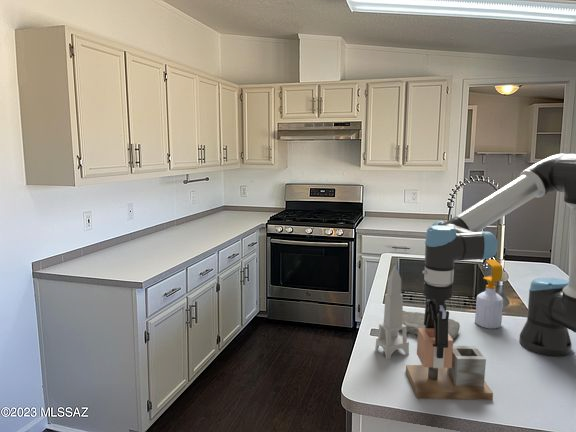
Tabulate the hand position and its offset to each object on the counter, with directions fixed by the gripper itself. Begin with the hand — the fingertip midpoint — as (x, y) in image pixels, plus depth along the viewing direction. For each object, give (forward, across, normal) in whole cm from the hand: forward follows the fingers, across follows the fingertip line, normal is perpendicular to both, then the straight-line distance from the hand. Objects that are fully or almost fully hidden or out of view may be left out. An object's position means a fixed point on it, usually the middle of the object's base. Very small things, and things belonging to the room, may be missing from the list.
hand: (433, 359), depth 124 cm
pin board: (+8, 0, +4) cm, 9 cm away
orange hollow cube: (0, 0, 0) cm, 0 cm away
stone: (+8, -36, +6) cm, 38 cm away
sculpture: (+8, -19, -8) cm, 22 cm away
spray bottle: (+8, -42, +32) cm, 53 cm away
